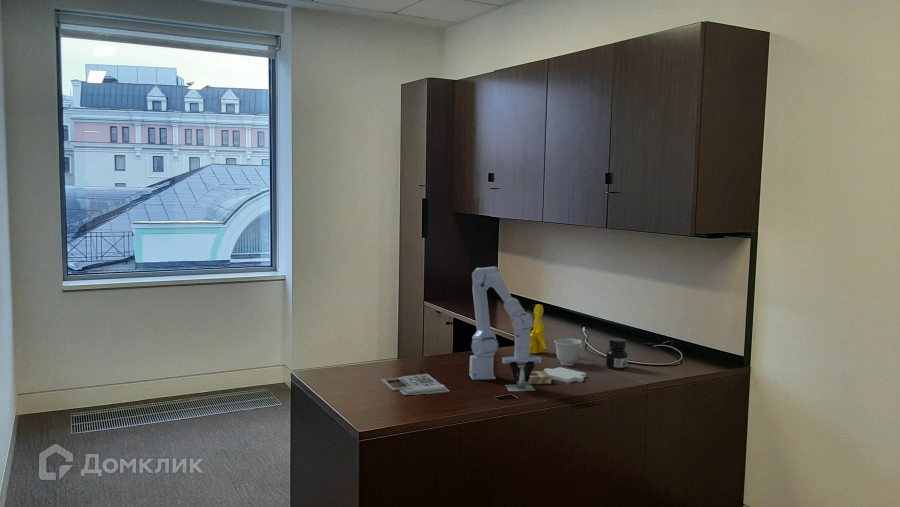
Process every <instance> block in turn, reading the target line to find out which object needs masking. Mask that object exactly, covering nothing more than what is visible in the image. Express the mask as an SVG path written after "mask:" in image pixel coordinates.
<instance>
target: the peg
mask: <svg viewBox="0 0 900 507" xmlns="http://www.w3.org/2000/svg"><path fill="white" fill-rule="evenodd" d="M517 366H518V372H517V382H516V385H517V388H519V389H524V388H525V373H526V367H525V365H517Z"/></svg>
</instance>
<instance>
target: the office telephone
mask: <svg viewBox="0 0 900 507" xmlns="http://www.w3.org/2000/svg"><path fill="white" fill-rule="evenodd" d="M393 380H400V381H401V382H402V383H404V384H405V385H406V386H405V385H404V386H397V387H396V386H395V387H393V385H391V384H390V382H387V381H393ZM381 381H382V382H383V383H385V384H386V385H387V386H388V387H389V388H390V389H392V390H399V389H400V390H399V391H400V392H401V393H402V394H403V395H415V396H423V395H422V394H426V395H432V394H442V393H443V394H444V393H445V394H446V393H450V389H448V388H447V387H446V385H444V384H442V383H440V382H439V381H438V380H436V379H435V378H433V377H432V376H431V375H430V374H428V373H423V374H414V375H404V376H400V377H392V378H391V377H389V378H381V379H380V382H381ZM400 381H399V382H400ZM382 382H381V383H382ZM401 382H400V383H401ZM383 383H382V384H383ZM402 383H401V384H402ZM388 387H387V388H388ZM389 388H388V389H389ZM390 389H389V390H390ZM401 389H402V390H401ZM399 391H398V392H399ZM400 392H399V393H400ZM401 393H400V394H401ZM402 394H401V395H402ZM420 394H421V395H420ZM403 395H402V396H403Z"/></svg>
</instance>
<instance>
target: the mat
mask: <svg viewBox="0 0 900 507" xmlns="http://www.w3.org/2000/svg"><path fill="white" fill-rule="evenodd" d="M504 386H505V387H506V389H507V390H508V392H526V391H527V392H528V391H536V389H535V388H534V386H532V384H525V388H524V389H519V388H517V384H505V385H504Z"/></svg>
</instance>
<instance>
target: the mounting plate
mask: <svg viewBox="0 0 900 507" xmlns="http://www.w3.org/2000/svg"><path fill="white" fill-rule="evenodd" d="M543 371H546V372H547V373H548V374H549V375H550V376H551V380H556V381H560V382H565V383H567V384H570V383H572V382H579V383H582V382H584V380H585V378H586V377H587V372H584V371H579V370H573V369H569V368H565V367H560V366H558V367H556V368H548V367H547V368H544V369H543Z"/></svg>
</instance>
